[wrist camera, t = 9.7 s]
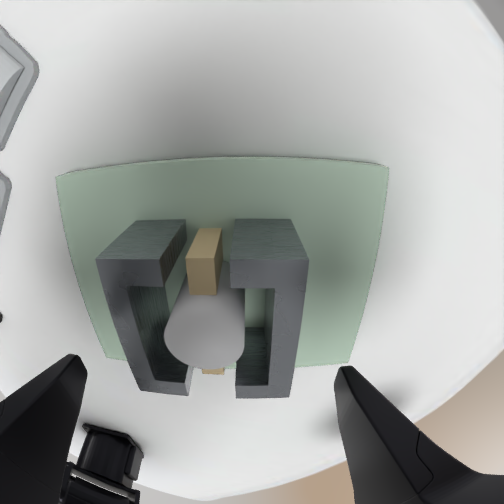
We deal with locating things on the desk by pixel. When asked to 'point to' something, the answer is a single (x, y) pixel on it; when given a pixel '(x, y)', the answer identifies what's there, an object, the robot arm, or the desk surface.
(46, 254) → the desk surface
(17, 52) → the office telephone
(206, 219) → the keyed post stand
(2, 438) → the robot arm
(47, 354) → the desk surface
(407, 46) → the desk surface
